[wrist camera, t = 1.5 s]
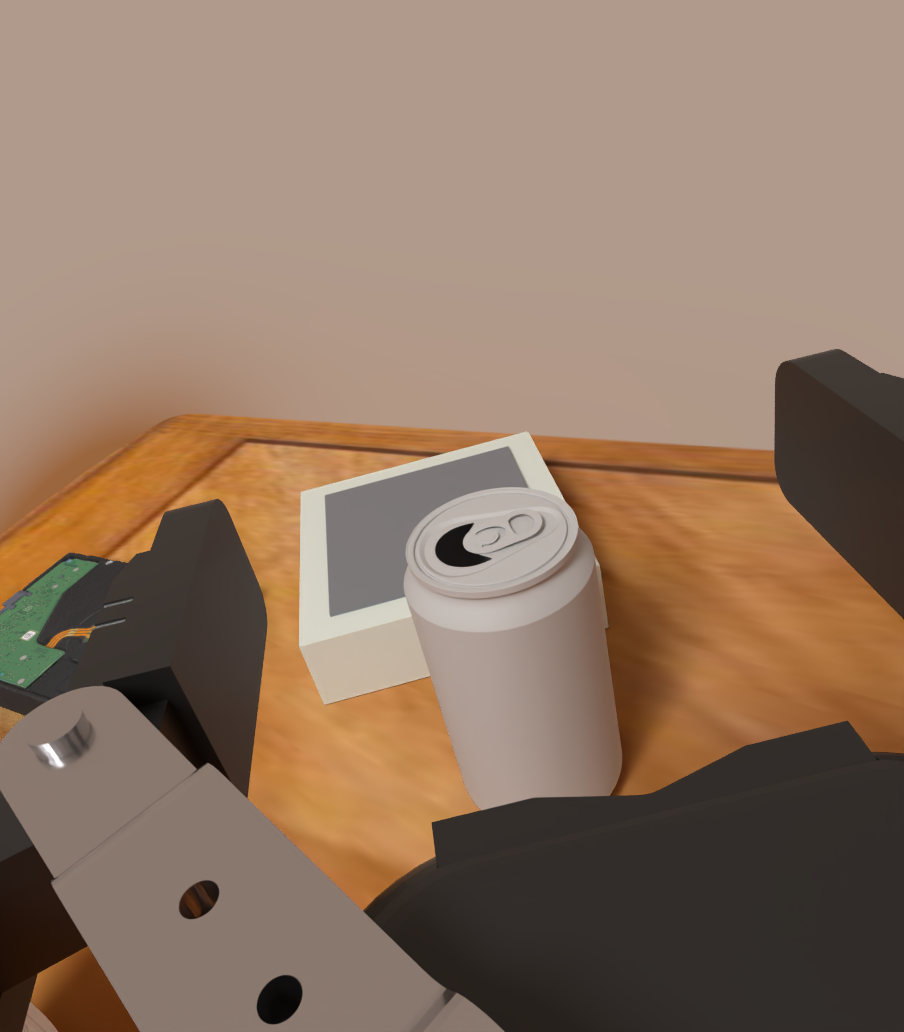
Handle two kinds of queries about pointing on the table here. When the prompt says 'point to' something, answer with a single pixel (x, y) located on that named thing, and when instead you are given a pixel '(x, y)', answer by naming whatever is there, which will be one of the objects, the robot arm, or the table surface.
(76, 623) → the disk drive
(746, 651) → the table surface
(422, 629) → the beverage can
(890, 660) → the table surface
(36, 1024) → the photo printer
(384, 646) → the plinth
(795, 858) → the robot arm
